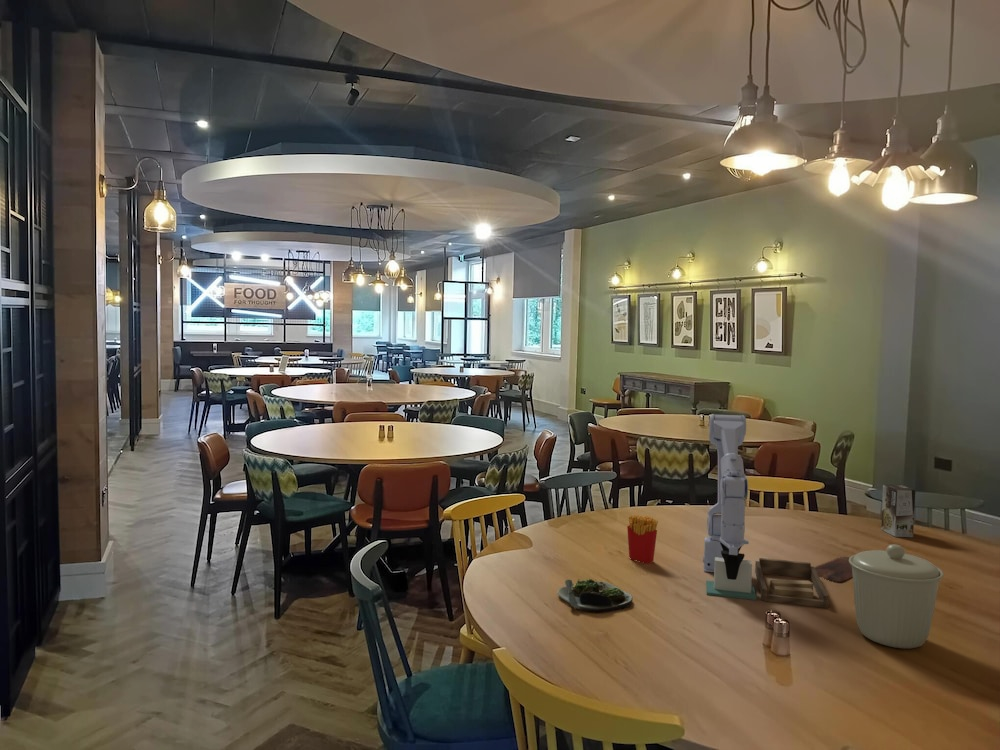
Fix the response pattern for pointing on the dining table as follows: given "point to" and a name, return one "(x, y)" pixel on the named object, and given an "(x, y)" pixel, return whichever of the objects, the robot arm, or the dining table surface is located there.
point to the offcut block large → (790, 584)
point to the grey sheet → (737, 585)
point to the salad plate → (594, 596)
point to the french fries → (642, 538)
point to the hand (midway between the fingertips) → (731, 574)
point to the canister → (894, 596)
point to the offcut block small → (793, 592)
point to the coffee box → (898, 510)
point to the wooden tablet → (835, 570)
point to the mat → (729, 592)
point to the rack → (795, 571)
